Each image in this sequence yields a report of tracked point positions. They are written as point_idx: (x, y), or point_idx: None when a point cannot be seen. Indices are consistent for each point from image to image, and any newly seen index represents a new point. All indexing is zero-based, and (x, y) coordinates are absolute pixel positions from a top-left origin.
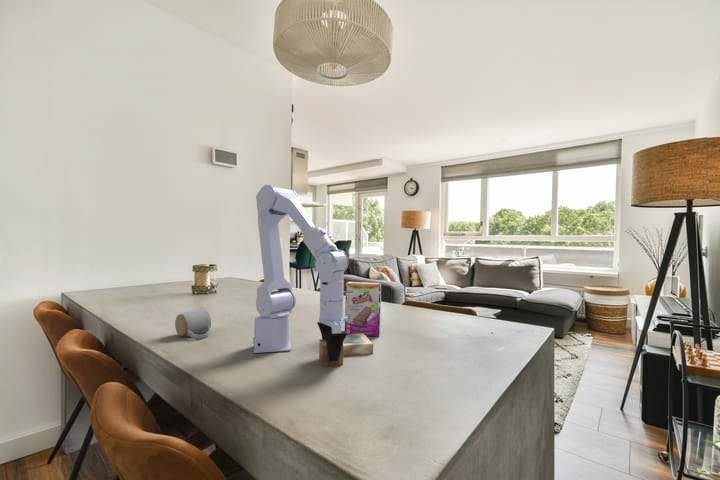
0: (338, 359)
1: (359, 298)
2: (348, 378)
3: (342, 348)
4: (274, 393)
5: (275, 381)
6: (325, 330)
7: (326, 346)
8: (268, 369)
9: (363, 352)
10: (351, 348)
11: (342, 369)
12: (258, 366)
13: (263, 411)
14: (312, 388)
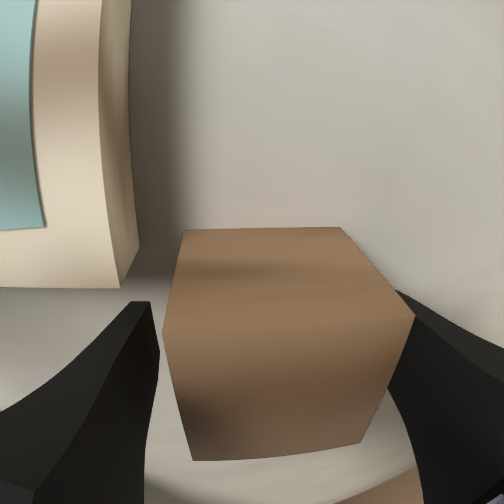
0: (399, 292)
1: None
2: (493, 237)
3: (393, 297)
4: None
5: (379, 444)
6: (129, 494)
7: (366, 420)
8: (276, 472)
9: (128, 11)
10: (111, 120)
11: (403, 244)
12: (241, 486)
13: None
14: None
